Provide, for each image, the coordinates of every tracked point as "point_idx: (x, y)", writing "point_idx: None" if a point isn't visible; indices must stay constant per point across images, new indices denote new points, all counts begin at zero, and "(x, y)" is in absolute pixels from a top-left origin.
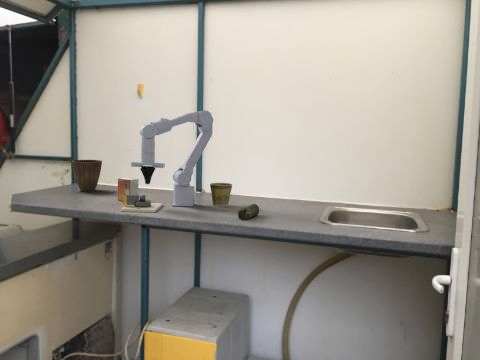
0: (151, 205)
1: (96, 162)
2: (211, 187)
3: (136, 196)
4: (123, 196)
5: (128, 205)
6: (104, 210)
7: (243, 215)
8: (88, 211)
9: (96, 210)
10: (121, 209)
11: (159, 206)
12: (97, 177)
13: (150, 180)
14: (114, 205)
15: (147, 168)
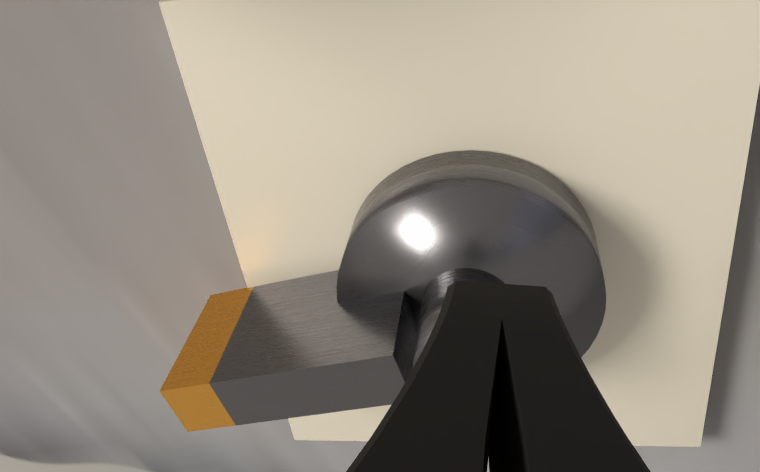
0: (595, 199)
1: None
2: None
3: (377, 398)
4: (197, 420)
5: (272, 266)
6: (132, 405)
7: None
8: (43, 453)
9: (68, 414)
10: (305, 433)
11: (736, 209)
12: None
13: (574, 364)
14: (19, 139)
15: None
